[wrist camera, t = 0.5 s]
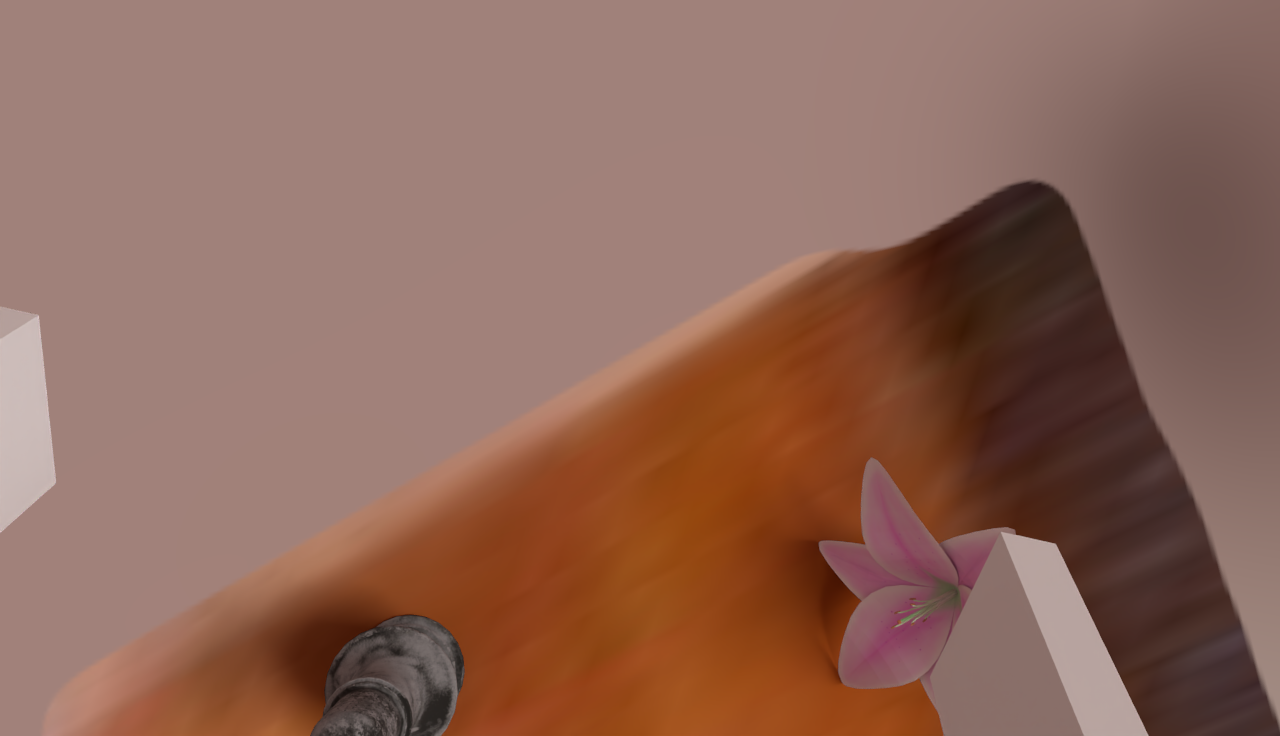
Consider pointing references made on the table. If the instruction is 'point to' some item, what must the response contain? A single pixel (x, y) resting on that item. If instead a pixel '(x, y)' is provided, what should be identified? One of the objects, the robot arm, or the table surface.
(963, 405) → the table surface
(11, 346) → the robot arm
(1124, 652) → the table surface
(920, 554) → the lily
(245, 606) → the table surface
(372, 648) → the dark grey chess piece
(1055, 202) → the table surface
